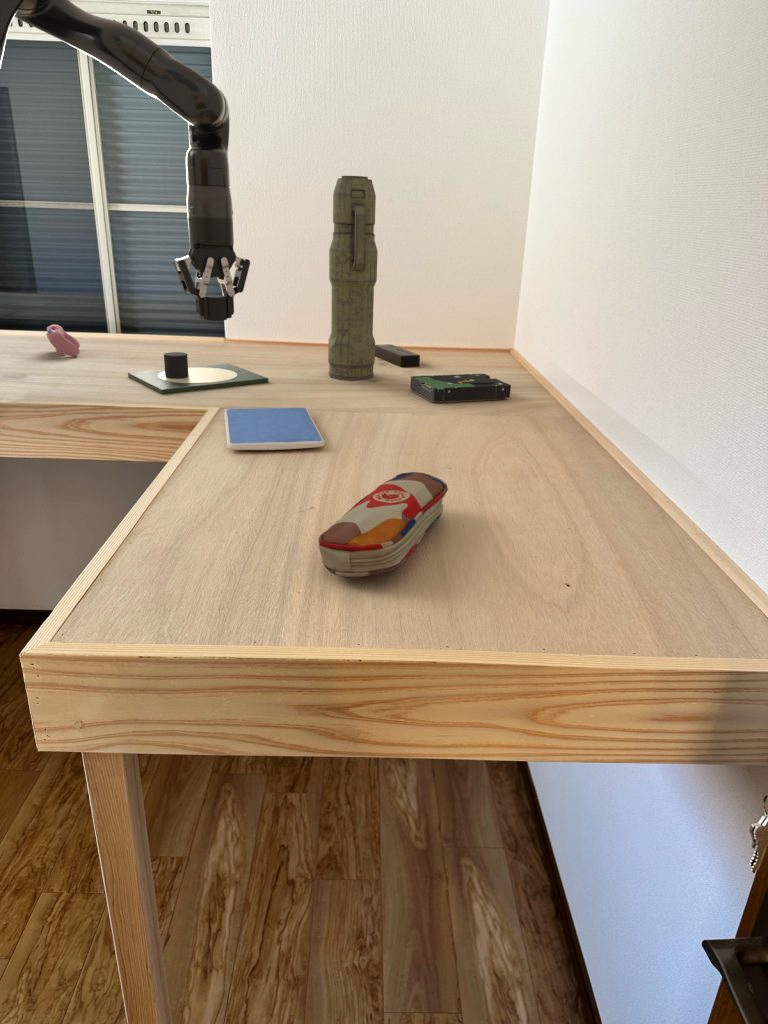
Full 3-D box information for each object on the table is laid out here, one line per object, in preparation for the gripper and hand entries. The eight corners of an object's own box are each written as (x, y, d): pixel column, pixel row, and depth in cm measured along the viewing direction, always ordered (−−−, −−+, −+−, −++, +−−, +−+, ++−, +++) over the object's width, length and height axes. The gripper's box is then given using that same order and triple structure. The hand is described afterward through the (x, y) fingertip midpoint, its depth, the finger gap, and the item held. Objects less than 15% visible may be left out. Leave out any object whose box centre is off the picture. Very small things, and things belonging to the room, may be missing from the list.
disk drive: (482, 388, 135) (408, 390, 130) (483, 373, 134) (409, 375, 129) (510, 400, 126) (433, 404, 121) (512, 384, 125) (434, 387, 120)
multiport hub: (401, 367, 150) (401, 355, 150) (372, 355, 162) (373, 344, 162) (420, 366, 152) (420, 355, 151) (390, 354, 164) (391, 344, 163)
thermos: (338, 382, 134) (341, 173, 121) (320, 370, 144) (321, 176, 131) (383, 380, 137) (390, 176, 124) (362, 369, 147) (367, 179, 134)
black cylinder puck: (210, 321, 128) (208, 297, 127) (200, 318, 131) (199, 295, 129) (230, 320, 130) (229, 297, 129) (221, 317, 133) (219, 294, 132)
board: (161, 394, 121) (161, 388, 120) (128, 376, 132) (127, 372, 132) (268, 382, 132) (268, 377, 132) (228, 367, 144) (228, 362, 143)
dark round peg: (170, 379, 127) (169, 356, 126) (161, 375, 130) (160, 353, 128) (192, 377, 129) (190, 354, 128) (183, 373, 132) (181, 351, 131)
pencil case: (275, 563, 63) (273, 509, 61) (397, 500, 79) (399, 456, 77) (379, 601, 58) (381, 543, 56) (489, 525, 73) (493, 478, 71)
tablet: (224, 415, 109) (223, 407, 109) (307, 413, 112) (307, 405, 111) (227, 454, 92) (226, 444, 91) (326, 451, 94) (326, 441, 94)
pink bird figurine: (62, 356, 156) (42, 326, 153) (81, 346, 157) (62, 316, 153) (61, 364, 148) (39, 333, 144) (81, 354, 148) (60, 323, 145)
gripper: (237, 216, 131) (241, 314, 137) (161, 213, 123) (169, 317, 129) (258, 217, 126) (260, 319, 132) (179, 214, 117) (186, 323, 124)
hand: (215, 317), depth 131 cm, fingers closed on black cylinder puck, 4 cm apart
